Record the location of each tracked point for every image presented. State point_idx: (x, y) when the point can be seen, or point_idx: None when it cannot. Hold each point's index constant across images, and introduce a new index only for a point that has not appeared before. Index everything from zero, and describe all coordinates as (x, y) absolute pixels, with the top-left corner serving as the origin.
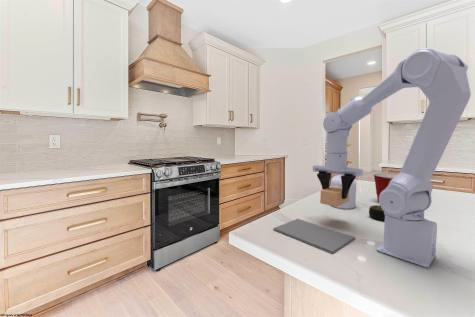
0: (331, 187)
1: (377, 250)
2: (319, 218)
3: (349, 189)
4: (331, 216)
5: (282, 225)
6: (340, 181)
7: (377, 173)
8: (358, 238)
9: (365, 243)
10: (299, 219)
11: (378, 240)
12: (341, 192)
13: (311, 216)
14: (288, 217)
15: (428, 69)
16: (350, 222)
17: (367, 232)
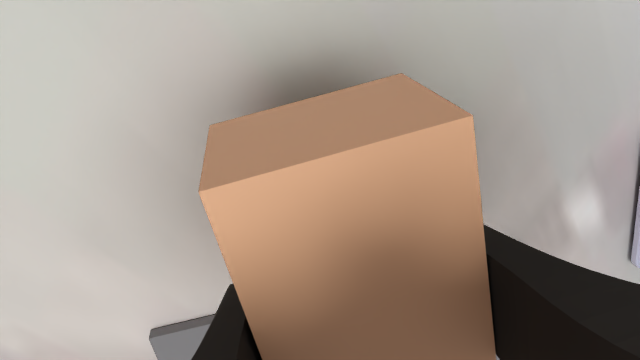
0: (262, 303)
1: (635, 265)
2: (181, 174)
3: (467, 114)
4: (186, 45)
5: None
6: None
7: None
8: (524, 219)
9: (569, 237)
10: (168, 338)
11: (604, 150)
12: (492, 356)
13: (115, 196)
14: (69, 346)
15: None
16: (364, 29)
17: (525, 99)
